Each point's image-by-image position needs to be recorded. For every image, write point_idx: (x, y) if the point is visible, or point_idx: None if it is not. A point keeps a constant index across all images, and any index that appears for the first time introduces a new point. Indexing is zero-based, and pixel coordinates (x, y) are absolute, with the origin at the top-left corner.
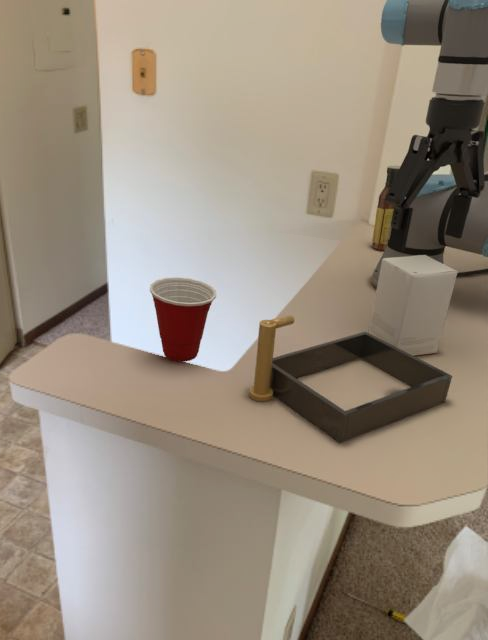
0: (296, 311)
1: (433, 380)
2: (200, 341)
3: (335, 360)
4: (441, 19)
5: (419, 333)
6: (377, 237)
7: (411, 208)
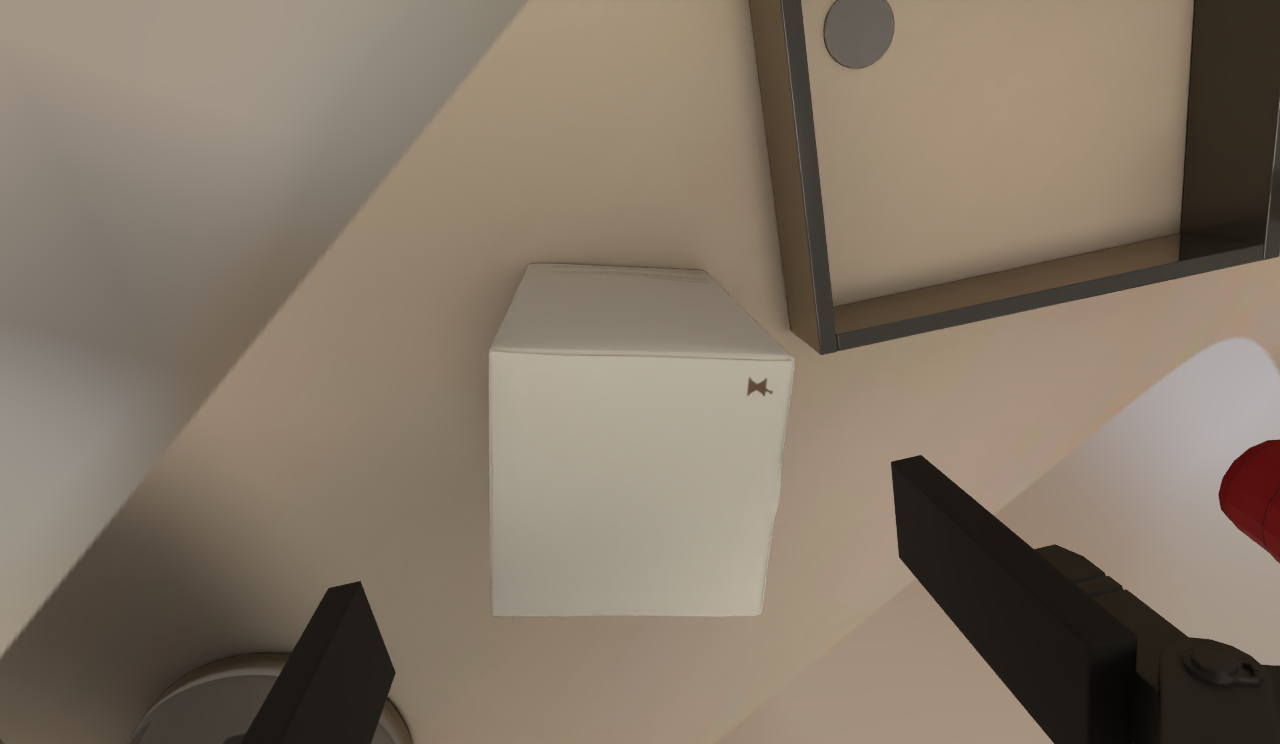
0: (788, 655)
1: None
2: (1275, 478)
3: (928, 293)
4: None
5: (636, 279)
6: None
7: (1108, 647)
